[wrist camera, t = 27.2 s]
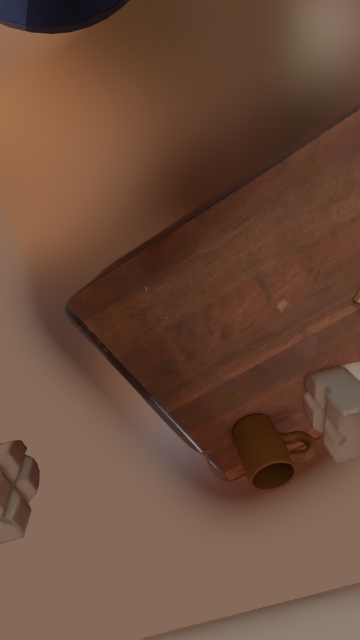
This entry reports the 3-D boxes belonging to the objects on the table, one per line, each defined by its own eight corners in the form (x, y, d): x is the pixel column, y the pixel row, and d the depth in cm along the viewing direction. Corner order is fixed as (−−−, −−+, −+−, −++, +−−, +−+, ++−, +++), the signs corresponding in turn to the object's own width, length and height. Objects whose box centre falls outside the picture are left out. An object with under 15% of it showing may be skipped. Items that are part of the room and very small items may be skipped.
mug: (287, 394, 50) (317, 440, 42) (300, 420, 54) (330, 467, 46) (224, 425, 52) (241, 475, 44) (241, 448, 55) (259, 498, 47)
